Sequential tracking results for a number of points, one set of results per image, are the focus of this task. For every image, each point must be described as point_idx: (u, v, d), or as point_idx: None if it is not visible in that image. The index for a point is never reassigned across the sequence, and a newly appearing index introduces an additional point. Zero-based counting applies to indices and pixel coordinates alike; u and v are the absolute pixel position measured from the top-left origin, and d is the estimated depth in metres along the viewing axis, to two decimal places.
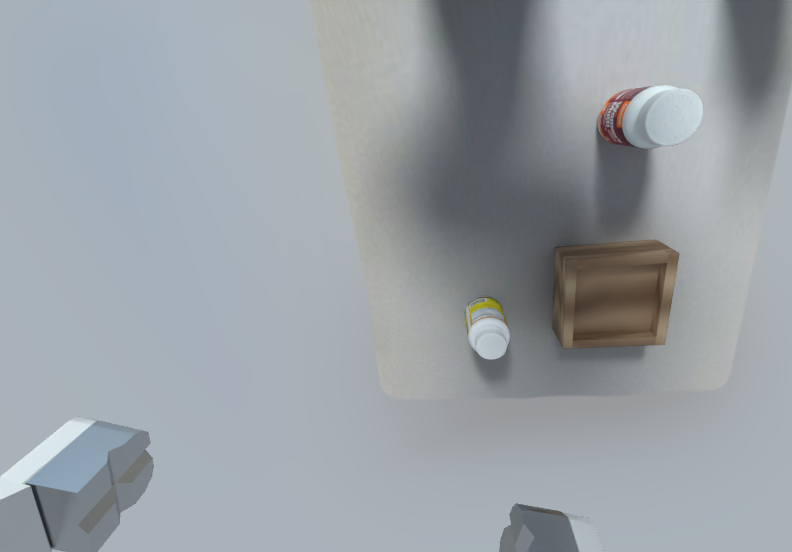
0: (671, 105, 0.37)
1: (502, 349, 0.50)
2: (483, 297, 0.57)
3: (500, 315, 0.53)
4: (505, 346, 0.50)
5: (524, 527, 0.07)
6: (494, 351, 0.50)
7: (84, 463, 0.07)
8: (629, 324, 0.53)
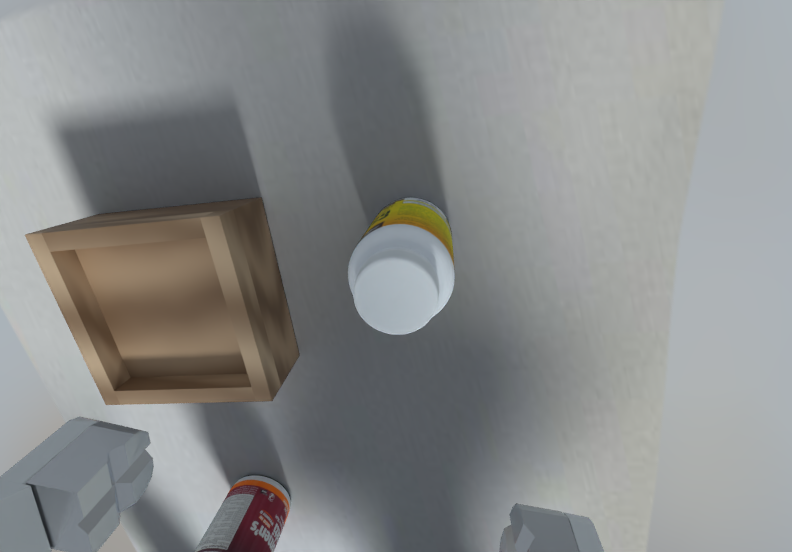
0: None
1: (364, 291, 0.18)
2: None
3: None
4: (357, 300, 0.18)
5: (524, 527, 0.07)
6: (385, 285, 0.18)
7: (84, 463, 0.07)
8: (116, 258, 0.26)
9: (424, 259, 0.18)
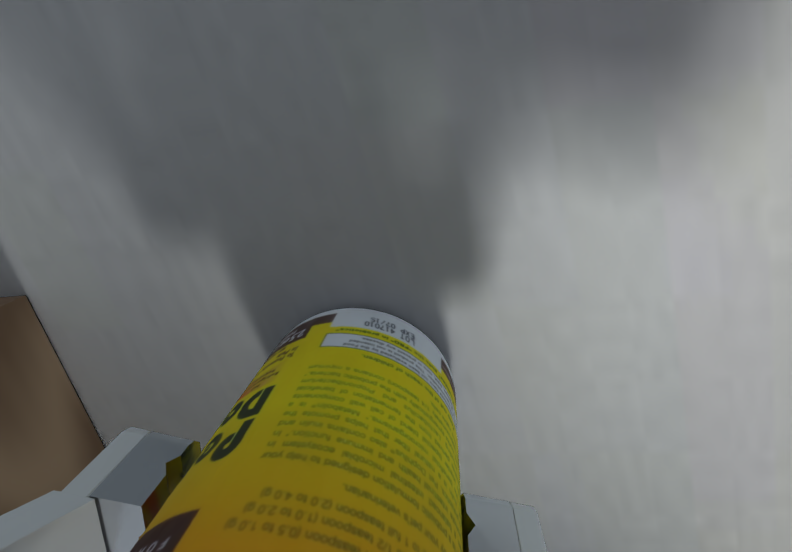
0: None
1: None
2: None
3: None
4: None
5: (466, 516, 0.07)
6: None
7: (144, 475, 0.07)
8: None
9: None
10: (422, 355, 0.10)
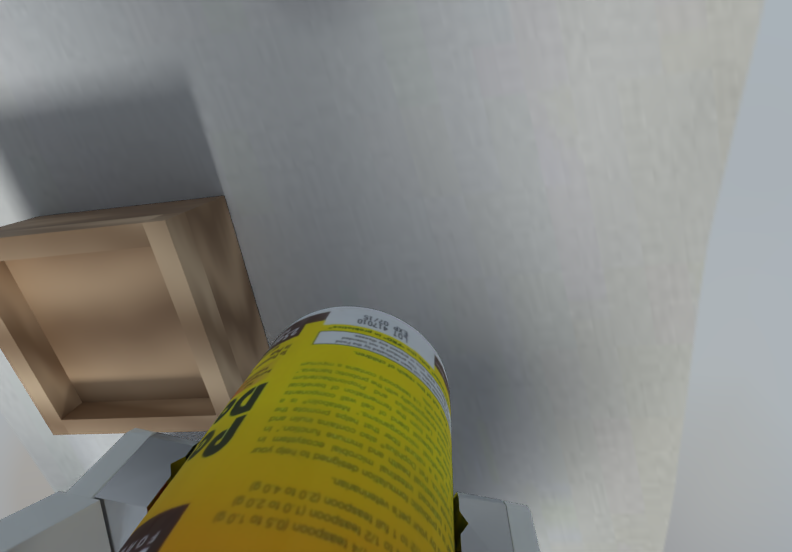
0: None
1: None
2: None
3: None
4: None
5: (460, 514, 0.07)
6: None
7: (149, 476, 0.07)
8: (53, 269, 0.22)
9: None
10: (415, 352, 0.10)
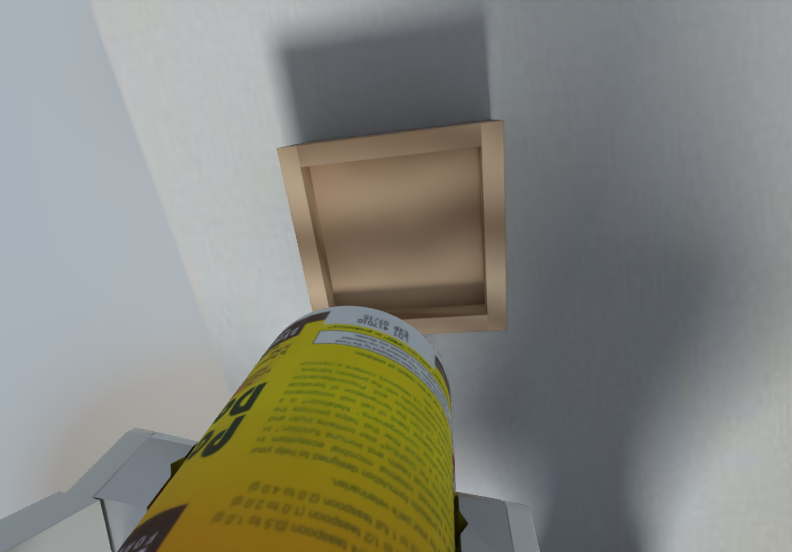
0: None
1: None
2: None
3: None
4: None
5: (460, 514, 0.07)
6: None
7: (149, 476, 0.07)
8: (354, 178, 0.25)
9: None
10: (415, 352, 0.10)
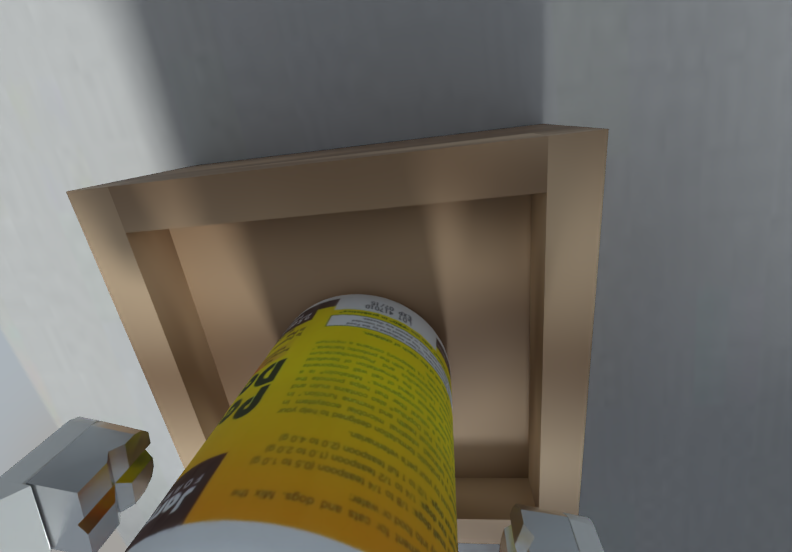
0: None
1: None
2: None
3: None
4: None
5: (524, 527, 0.07)
6: None
7: (84, 463, 0.07)
8: (262, 249, 0.12)
9: None
10: (418, 334, 0.10)
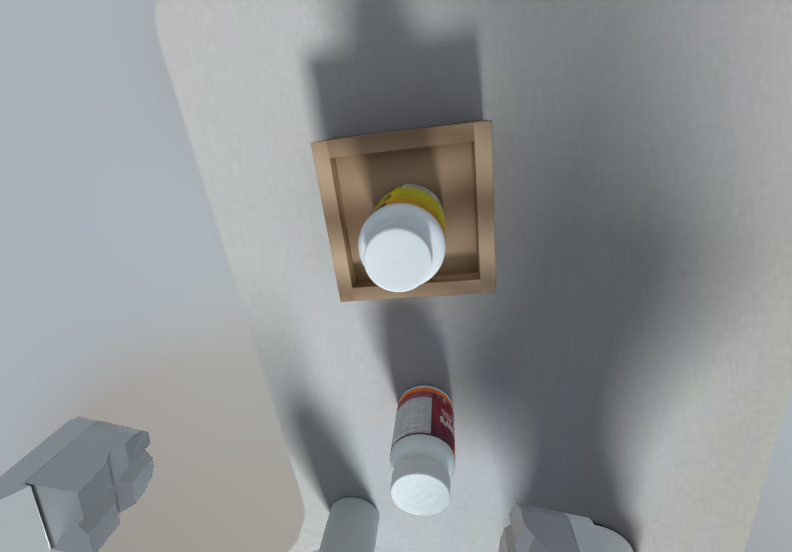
0: (425, 505, 0.34)
1: (372, 257, 0.22)
2: None
3: None
4: (367, 264, 0.22)
5: (524, 527, 0.07)
6: (388, 251, 0.22)
7: (84, 463, 0.07)
8: (371, 167, 0.30)
9: (419, 229, 0.22)
10: (432, 195, 0.29)
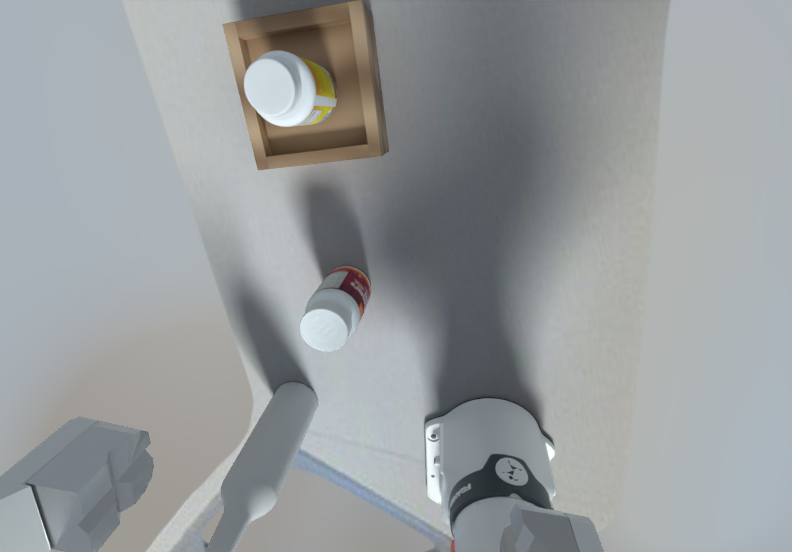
0: (329, 340, 0.40)
1: (250, 84, 0.29)
2: (313, 124, 0.38)
3: None
4: (247, 91, 0.29)
5: (524, 527, 0.07)
6: (261, 78, 0.29)
7: (84, 463, 0.07)
8: (276, 50, 0.37)
9: (287, 64, 0.29)
10: (322, 68, 0.36)
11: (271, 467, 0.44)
